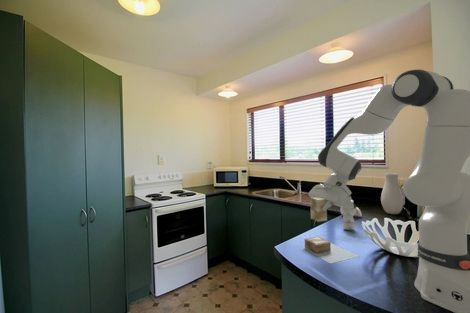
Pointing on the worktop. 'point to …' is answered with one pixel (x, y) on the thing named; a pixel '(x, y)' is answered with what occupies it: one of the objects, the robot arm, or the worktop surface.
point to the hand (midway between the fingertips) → (317, 208)
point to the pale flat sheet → (334, 254)
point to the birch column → (318, 209)
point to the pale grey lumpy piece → (354, 211)
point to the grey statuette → (348, 215)
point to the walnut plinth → (317, 245)
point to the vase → (392, 194)
